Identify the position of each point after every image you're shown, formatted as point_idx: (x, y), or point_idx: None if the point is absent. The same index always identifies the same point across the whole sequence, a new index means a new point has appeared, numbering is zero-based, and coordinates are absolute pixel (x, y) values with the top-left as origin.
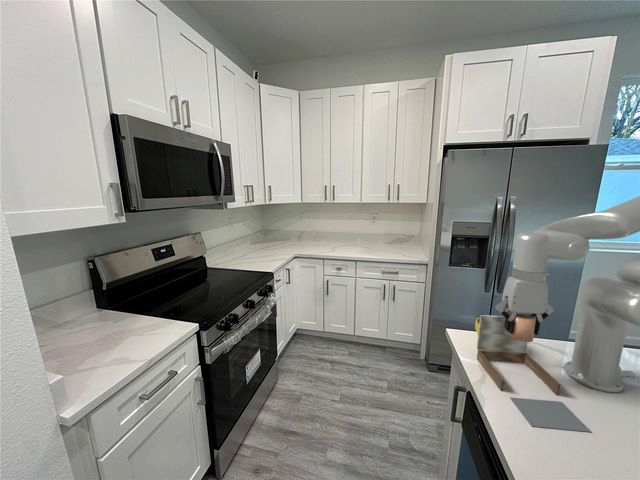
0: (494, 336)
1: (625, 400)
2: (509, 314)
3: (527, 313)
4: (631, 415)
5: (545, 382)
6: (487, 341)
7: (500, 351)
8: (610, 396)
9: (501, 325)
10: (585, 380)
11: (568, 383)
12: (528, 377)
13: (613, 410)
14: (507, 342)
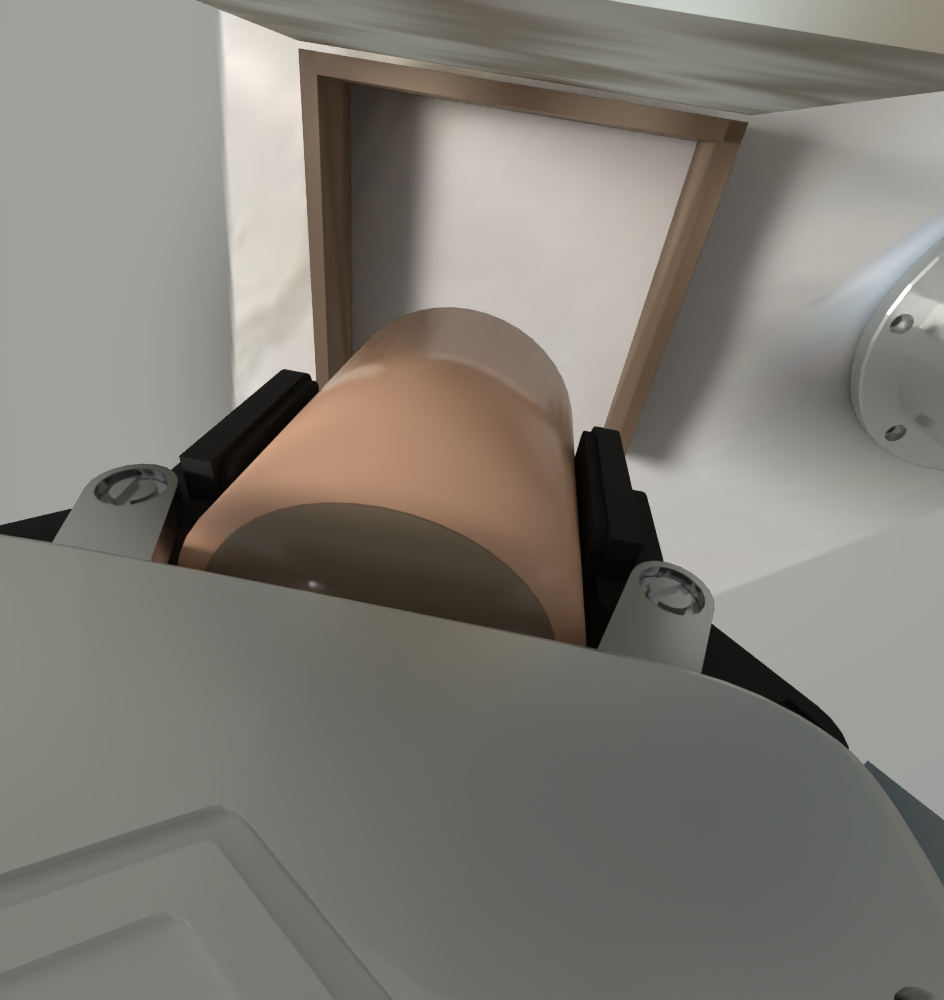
0: (402, 39)
1: (911, 498)
2: (169, 544)
3: (510, 629)
4: (799, 556)
5: (623, 377)
6: (351, 36)
7: (507, 85)
8: (874, 473)
9: (447, 13)
10: (881, 398)
11: (773, 375)
12: (576, 311)
13: (759, 533)
14: (571, 74)
